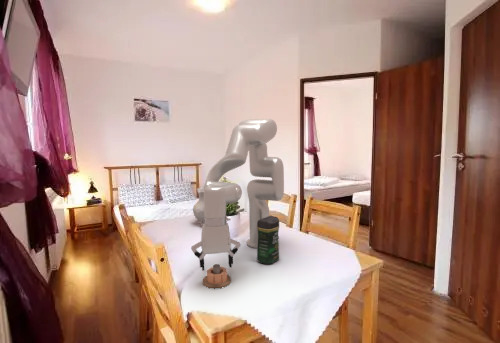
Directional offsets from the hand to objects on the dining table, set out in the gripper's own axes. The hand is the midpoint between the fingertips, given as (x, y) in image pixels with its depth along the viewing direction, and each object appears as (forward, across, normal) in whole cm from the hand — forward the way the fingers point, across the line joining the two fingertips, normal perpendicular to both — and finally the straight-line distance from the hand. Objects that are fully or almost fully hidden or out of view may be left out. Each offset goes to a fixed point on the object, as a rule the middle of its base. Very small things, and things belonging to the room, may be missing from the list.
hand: (216, 267), depth 101 cm
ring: (+4, 0, 0) cm, 4 cm away
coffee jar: (+6, -23, -13) cm, 27 cm away
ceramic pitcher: (+6, -3, -71) cm, 71 cm away
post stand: (+5, 0, 0) cm, 5 cm away
